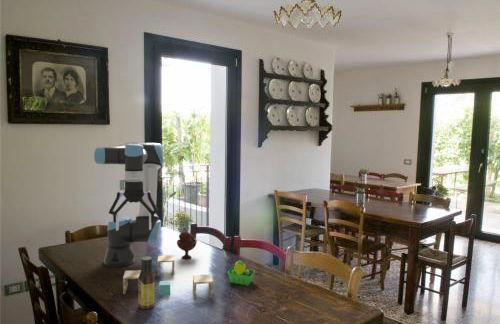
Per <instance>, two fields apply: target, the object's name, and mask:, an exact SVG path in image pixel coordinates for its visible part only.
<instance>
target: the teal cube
mask: <svg viewBox="0 0 500 324" xmlns="http://www.w3.org/2000/svg"><path fill="white" fill-rule="evenodd" d="M158 291H159V293H158V295H159V296H171V280H159V290H158Z"/></svg>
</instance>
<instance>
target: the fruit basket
mask: <svg viewBox="0 0 500 324" xmlns="http://www.w3.org/2000/svg"><path fill="white" fill-rule="evenodd" d="M246 268H247V266H246V264H245V263H244V262H243V261H242V260H238V261H236V262H235V264H234V267H231V268H230V269H229V270H228V271H227V275H228V280H229V283H232V284H236V285H238V284H239V285H243V286H249V285H250V284H251V283H252V281H253V277H254V275H255V273H256V272H255V270H253V269H246Z"/></svg>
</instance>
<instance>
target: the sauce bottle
mask: <svg viewBox="0 0 500 324" xmlns="http://www.w3.org/2000/svg"><path fill="white" fill-rule="evenodd" d="M140 260H141V261H140V262H141V269H140V270H141V272H140V275H139V277H138V280H137V281H138V284H137V285H138V289H137V290H138V294H137V295H138V298H137V299H138V307H139V308H140V309H143V310H147V309H151V308H153V307H154V306H155V301H156V300H155V299H156V297H155V295H156V292H155V291H156V290H155V289H156V287H155V286H156V285H155V283H156V280H155V272H154V271H153V269H152V265H153V264H152V262H153V257H151V256H148V255H147V256H143V257H141V259H140Z"/></svg>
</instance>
